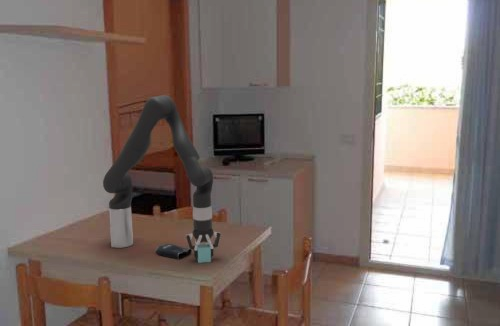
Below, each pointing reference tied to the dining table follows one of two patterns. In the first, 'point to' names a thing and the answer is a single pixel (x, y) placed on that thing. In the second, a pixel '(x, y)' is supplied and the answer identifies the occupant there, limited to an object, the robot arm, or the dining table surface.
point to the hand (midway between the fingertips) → (203, 257)
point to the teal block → (204, 253)
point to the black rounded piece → (172, 250)
